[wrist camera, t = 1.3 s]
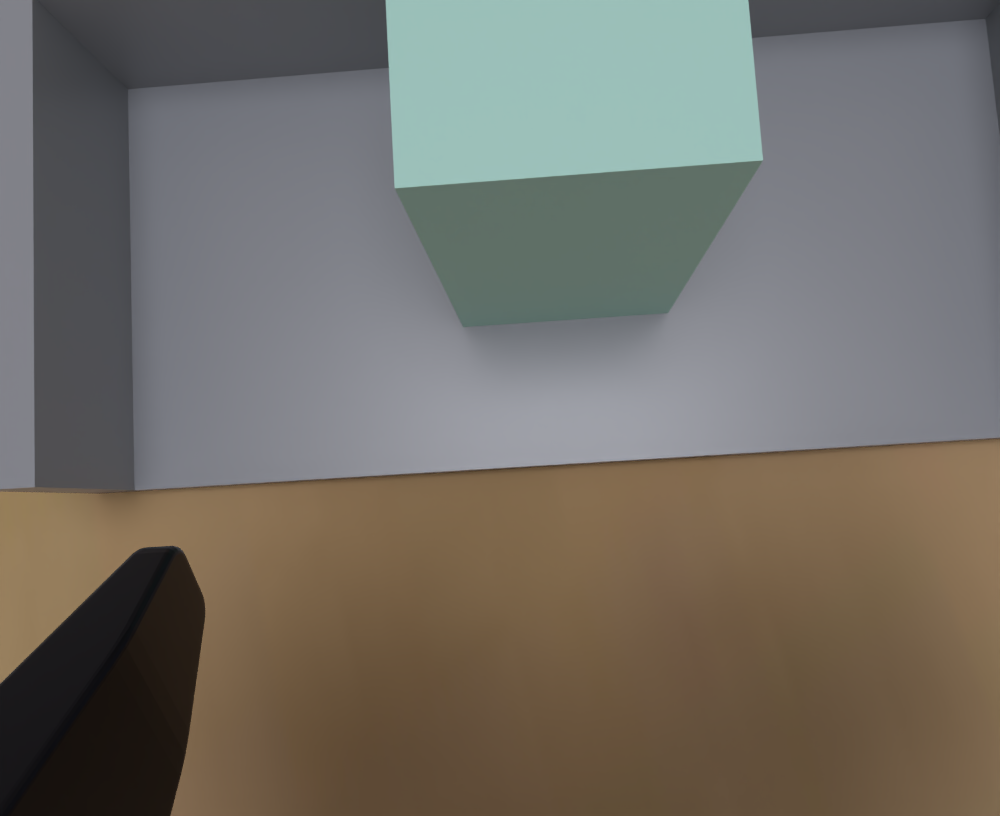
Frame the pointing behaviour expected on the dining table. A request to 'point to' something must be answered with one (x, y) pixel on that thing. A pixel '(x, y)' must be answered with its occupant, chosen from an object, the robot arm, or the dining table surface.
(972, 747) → the dining table surface
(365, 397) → the open crate
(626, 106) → the green block
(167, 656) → the robot arm
